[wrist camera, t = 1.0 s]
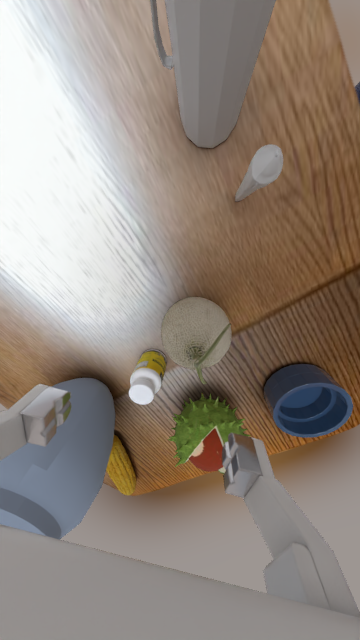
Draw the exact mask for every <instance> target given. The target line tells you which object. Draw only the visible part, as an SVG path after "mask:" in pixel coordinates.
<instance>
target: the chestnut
mask: <svg viewBox="0 0 360 640" xmlns="http://www.w3.org/2000/svg"><path fill="white" fill-rule="evenodd" d="M189 399H190V397H189ZM183 400H184V399H183ZM225 401H226V399H225V400H224V401H223V402H219V396H218V397H217V399H216V400H214V399H211V393H210V397H209V399H206V398H205V397H204V395H203V393H202V396H201V398H200V400H197V401H194V402H193V401H192V400H191V399H190V403H191V404H189V403H187V402H186V401H185V400H184V403H185V406H186V407H184V406H183V405H182V406H183V408H184V410H183V411H182V412H181V414H180V415H176V414H174V415H175V416H176V417H177V418H176V417H173V418H174V420H175V421H176V422H177V424H176V428H171V429H174V430H175V435H174V436H172V437H169V438H172V439H168V440H170V441H174V442H175V443H176V446H177V450H176V451H175V452H178V453H177V454H176V455H175V456H174V457H173V458H175V457H177V456H179V457H178V458H180V460H179V462H178V463H177V465H179V464H181V463H185V462H186V461H188V460H190V461H191V462H192V463H193V464H194V465H195V466H196V467H197V468H199V469H201V470H204V471H208V472H209V471H217V470H218V471H219V472H220V473H223V474H224V473H225V471H226V470H225V468H224V466H223V465H222V449H223V446H224V444H225V442H227V441H228V436H229V434H230V433H235V434H240V435H244V436H250V435H246V434H244V433H243V431H245V430H247V429H241V425H242V424H244V423H241V422H242V421H243V420H244V419H240V420H238V419H237V418H236V416H235V414H234V413H235V411H236V409H237V407H236V408H234V409H233V410H231V409H229V408H228V406H229V405H230V404H229V405H227V406H226V404H225ZM177 465H176V466H177ZM176 466H175V467H176Z"/></svg>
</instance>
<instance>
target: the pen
mask: <svg viewBox="0 0 360 640" xmlns="http://www.w3.org/2000/svg"><path fill="white" fill-rule="evenodd" d="M282 166H283V154H282V151H281V149H280V148H279V147H278V146H276V145H271V144H269V145H266V146H263V147H261V148H260V149H259V150H258V151H257V152H256V154H255V156H254V157H253V159H252V160H251V162H250V165H249V168H248V172H247V173H246V174H245V176H244V179H243V181H242V183H241V185H240V187H239V189H238V191H237V192H236V196H235V201H241V200H243V199H244V198H245V197H247V196H248V195H250V194H252V193H253V192H254V191H256V190H257V189H259V188H262V187H265V186H267V185H268V184H269V183H272V182H273V181H274V180H276V179H277V178H278V176H279V174H280V173H281V170H282Z"/></svg>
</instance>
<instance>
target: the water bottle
mask: <svg viewBox="0 0 360 640" xmlns="http://www.w3.org/2000/svg"><path fill="white" fill-rule="evenodd" d="M275 1H276V0H165V5H166V12H167V19H168V26H169V33H170V39H171V46H172V54H173V56H167V55H166V52H165V50H164V47H163V44H162V40H161V36H160V31H159V27H158V17H157V6H156V0H150V3H151V12H152V22H153V31H154V39H155V42H156V46H157V50H158V54H159V57H160V59H161V62H162V64H163V66H164V67H166V68H168V69H170V70H171V69H172V67H174V70H175V78H176V86H177V93H178V101H179V109H180V117H181V121H182V124H183V127H184V130H185V133H186V136H187V137H188V138H189V139H190V140H191V141H192V142H193V143H194V144H196V145H197V146H198V147H207V148H213V147H215V146H217V145H218V144H220V143H222V142H223V141H225V140H226V139H227V138H228V136H229V134H230V133H231V131H232V130H233V128H234V126H235V125H236V123H237V120H238V116H239V113H240V110H241V107H242V104H243V101H244V98H245V95H246V91H247V88H248V85H249V82H250V79H251V76H252V73H253V70H254V67H255V63H256V60H257V57H258V54H259V51H260V48H261V45H262V42H263V38H264V35H265V32H266V29H267V26H268V23H269V20H270V17H271V13H272V10H273V7H274V4H275Z"/></svg>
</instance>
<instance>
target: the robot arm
mask: <svg viewBox="0 0 360 640" xmlns="http://www.w3.org/2000/svg"><path fill="white" fill-rule="evenodd" d="M70 398H71V392H68V391H64V390H61V389H57V388H54V387H50V386H47V385H43V384H39V385H36V386H35V387H34V388H33V389H32V390H30V391H29V392H28V393H27V394H26V395H25V396H23V397H22V398H21V399H20V400H19V401H18V402H16V403H15V404H14V405H13V406H12V407H11V408H9V409H8V410H7V411H5V410H3V411H0V461H1V460H2V459H4V458H5V457H7V456H8V455H10V454H11V453H13V452H15V451H16V450H18V449H19V448H21V447H22V446H24V445H26V444H27V443H31V444H36V445H40V446H45V447H46V445H47V444H48V443H49V441H50V440H51V439H52V438H53V436H54V435H55V434H56V429H57V427H58V426H60V425H62V424H63V423H64V422H65V420H66V419H67V418H68V415H69V413H70V411H71V402H70V401H69V399H70ZM222 465H223V466H224V468H225V470H226V471H225V473H224V475H223V477H224V487H225V493H228V494H231V495H235V496H238V497H242V498H244V499H243V500H244V501H245V503H246V505H247V507H248V509H249V511H250V513H251V515H252V517H253V519H254V521H255V523H256V525H257V527H258V529H259V531H260V533H261V535H262V537H263V539H264V540H265V542H266V545H267V547H268V548H269V551H270V553H271V555H272V557H273V558H274V560H273V561H272V562H271V563H269V564H268V565H267V566H266V567H265V569H264V571H263V573H264V578H265V583H266V589H267V593H263V592H259V591H255V590H251V589H248V588H244V587H240V586H236V585H232V584H229V583H225V582H221V581H217V580H213V579H209V578H205V577H202V576H198V575H194V574H190V573H186V572H182V571H178V570H175V569H171V568H167V567H163V566H159V565H156V564H152V563H148V562H144V561H140V560H136V559H132V558H129V557H125V556H121V555H117V554H113V553H109V552H106V551H102V550H98V549H94V548H90V547H86V546H82V545H79V544H75V543H70V542H67V541H63V540H59V539H56V538H52V537H48V536H44V535H40V534H36V533H33V532H29V531H25V530H21V529H17V528H13V527H10V526H6V525H2V524H0V640H360V612H359V610H358V608H357V605H356V603H355V601H354V598H353V596H352V594H351V591H350V589H349V587H348V584H347V582H346V580H345V578H344V575H343V573H342V570H341V568H340V566H339V563H338V561H337V559H336V557H335V554H334V552H333V550H332V549H331V548H330V546H329V545H328V544H327V543H326V541H325V540H324V539H323V537H322V536H321V535H320V534H319V532H318V531H317V530H316V528H315V527H314V526H313V525H312V523H311V522H310V521H309V519H308V518H307V517H306V515H305V514H304V513H303V511H302V510H301V509H300V508H299V506H298V505H297V504H296V502H295V501H294V500H293V499H292V497H291V496H290V495H289V493H288V492H287V491H286V489H285V488H284V487H283V486H282V484H281V483H280V482H279V481H278V480H275V477H274V474H273V471H272V468H271V465H270V462H269V459H268V455H267V452H266V449H265V446H264V443H263V441H262V440H259V439H255V438H251V437H248V436H244V435H240V434H235V433H230V434H229V436H228V441H227V442H225V444H224V446H223V449H222Z"/></svg>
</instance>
